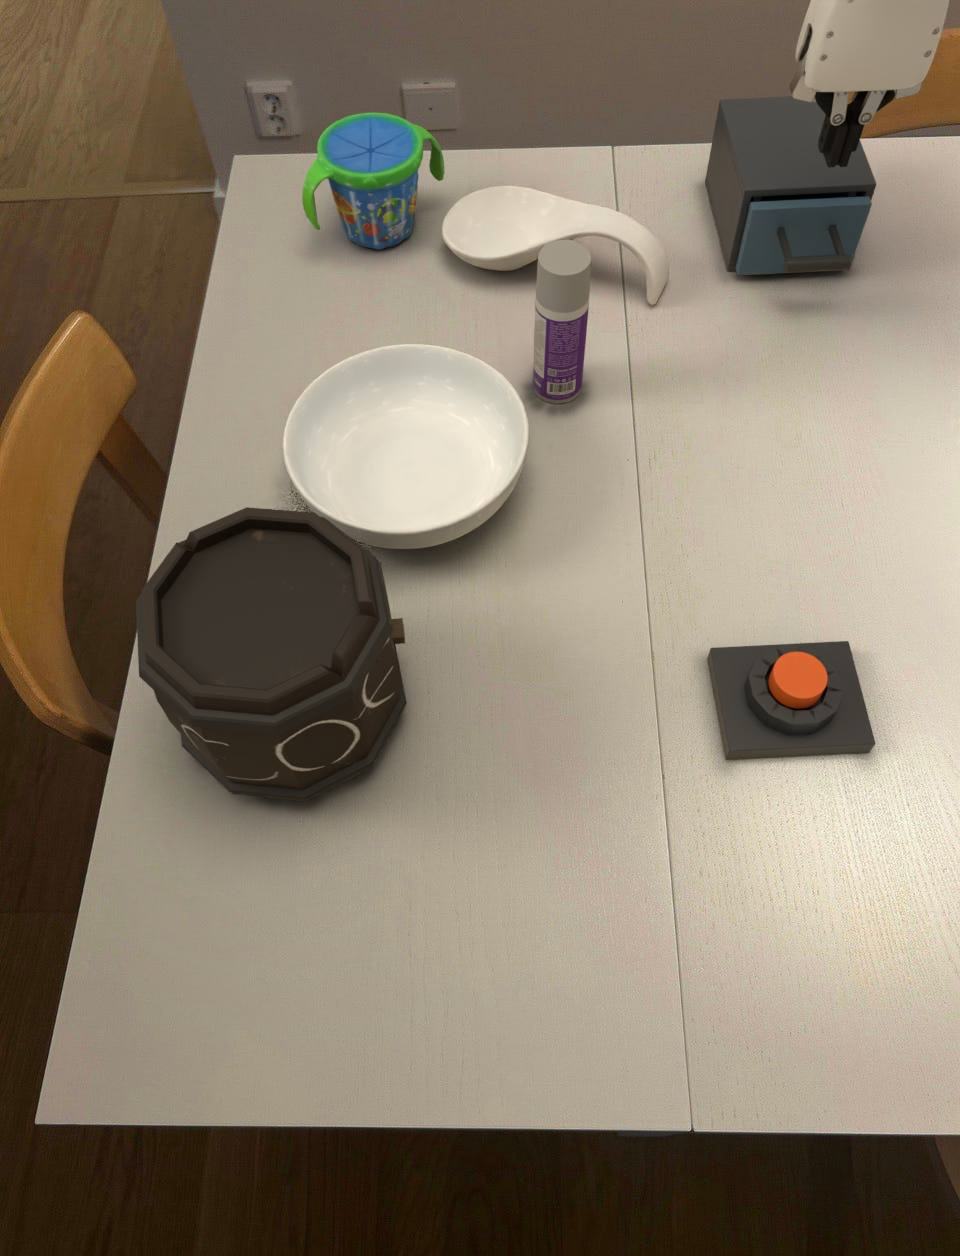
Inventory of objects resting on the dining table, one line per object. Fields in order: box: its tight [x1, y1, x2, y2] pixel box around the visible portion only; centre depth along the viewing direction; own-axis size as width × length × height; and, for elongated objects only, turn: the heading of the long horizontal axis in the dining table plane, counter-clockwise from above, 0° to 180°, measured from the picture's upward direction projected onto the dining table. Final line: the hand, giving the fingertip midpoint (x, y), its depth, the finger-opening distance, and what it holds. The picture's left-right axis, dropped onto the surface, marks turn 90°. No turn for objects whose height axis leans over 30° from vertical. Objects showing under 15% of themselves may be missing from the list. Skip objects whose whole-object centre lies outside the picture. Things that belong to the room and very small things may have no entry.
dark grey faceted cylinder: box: [135, 506, 407, 802], centre depth 77 cm, size 18×18×16 cm
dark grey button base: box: [706, 640, 876, 761], centre depth 82 cm, size 11×9×4 cm
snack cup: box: [301, 112, 446, 251], centre depth 109 cm, size 16×10×10 cm
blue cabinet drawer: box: [735, 192, 872, 276], centre depth 106 cm, size 19×11×8 cm, turn 3°
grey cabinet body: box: [704, 95, 877, 272], centre depth 109 cm, size 15×13×10 cm
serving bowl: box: [282, 343, 530, 550], centre depth 92 cm, size 21×21×7 cm
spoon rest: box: [441, 185, 670, 306], centre depth 107 cm, size 24×12×7 cm, turn 68°
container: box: [532, 240, 592, 405], centre depth 95 cm, size 5×5×15 cm
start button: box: [769, 652, 828, 709], centre depth 80 cm, size 4×4×2 cm
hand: (833, 157), depth 94 cm, fingers closed
